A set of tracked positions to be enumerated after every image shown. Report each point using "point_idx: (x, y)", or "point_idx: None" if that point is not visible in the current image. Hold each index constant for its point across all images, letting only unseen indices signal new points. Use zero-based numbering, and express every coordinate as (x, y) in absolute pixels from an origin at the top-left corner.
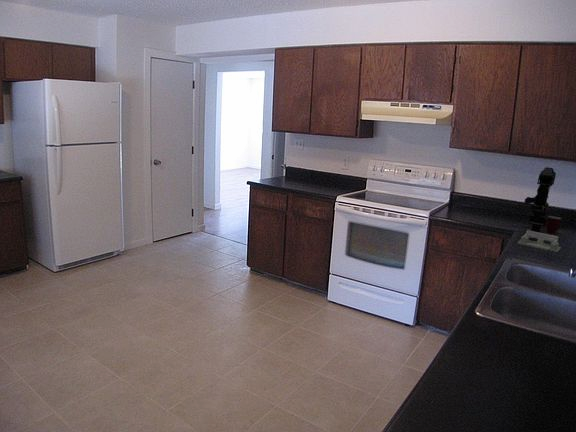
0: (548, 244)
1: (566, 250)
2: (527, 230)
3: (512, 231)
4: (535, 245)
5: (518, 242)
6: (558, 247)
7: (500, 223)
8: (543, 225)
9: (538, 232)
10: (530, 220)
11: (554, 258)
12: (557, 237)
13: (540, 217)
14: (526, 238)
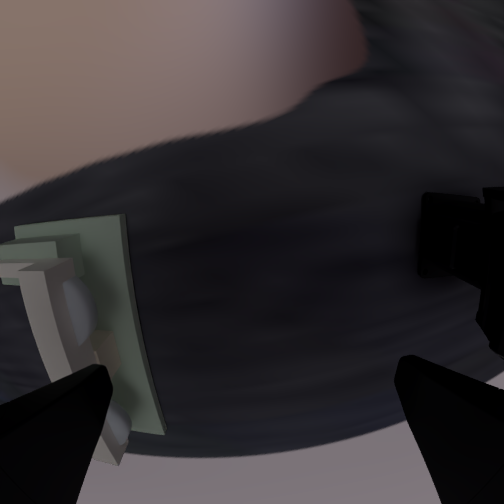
0: (149, 387)
1: (171, 445)
2: (32, 274)
3: (388, 80)
4: None
5: (16, 230)
6: (143, 426)
7: (493, 33)
8: (480, 319)
9: (69, 365)
10: (502, 199)
11: (4, 390)
12: (92, 457)
13: (404, 410)
14: (3, 281)
